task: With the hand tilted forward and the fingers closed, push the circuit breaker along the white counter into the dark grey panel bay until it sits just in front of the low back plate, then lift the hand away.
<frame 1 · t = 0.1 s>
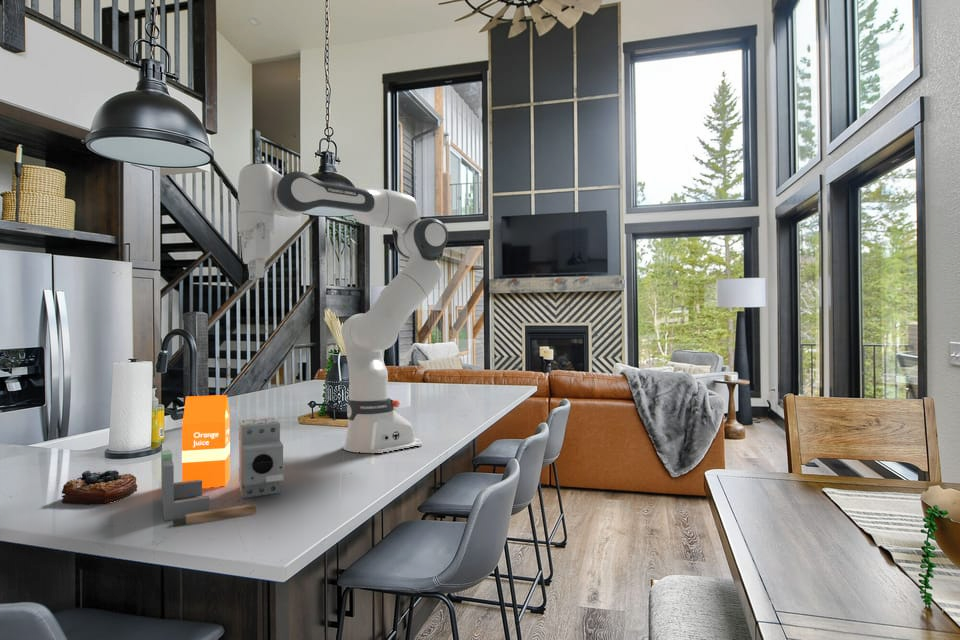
hand: (256, 278, 149), 48 cm above the table, tool pointing down, fingers open, 8 cm apart
stylus: (221, 518, 107), on the table
bay: (187, 505, 114), on the table
circuit breaker: (260, 495, 121), on the table
orange juice: (206, 484, 129), on the table
pastry: (101, 498, 120), on the table
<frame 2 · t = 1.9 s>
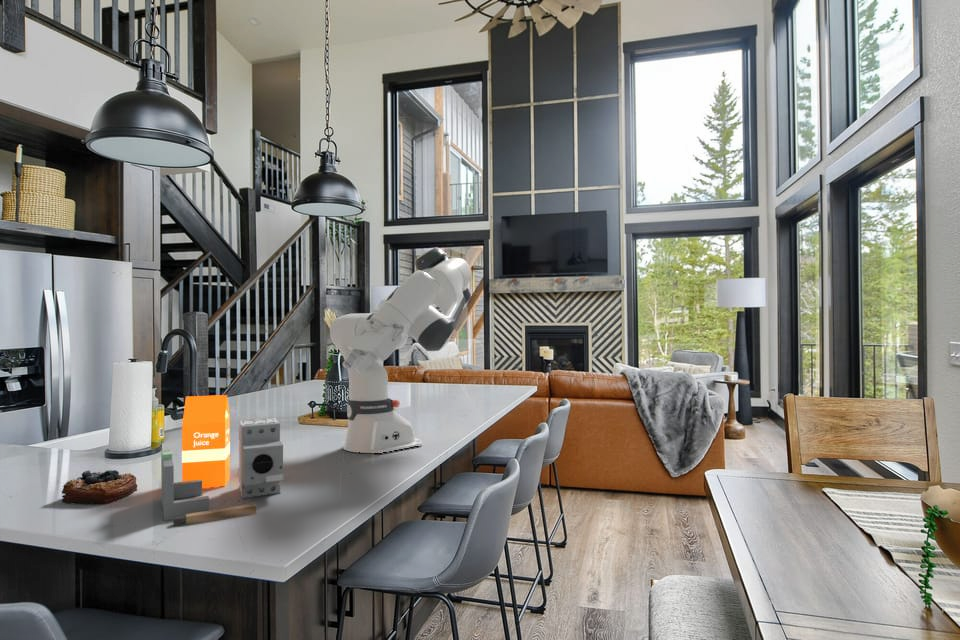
hand: (351, 368, 132), 26 cm above the table, tool tilted 45°, fingers open, 8 cm apart
nothing on the table moved.
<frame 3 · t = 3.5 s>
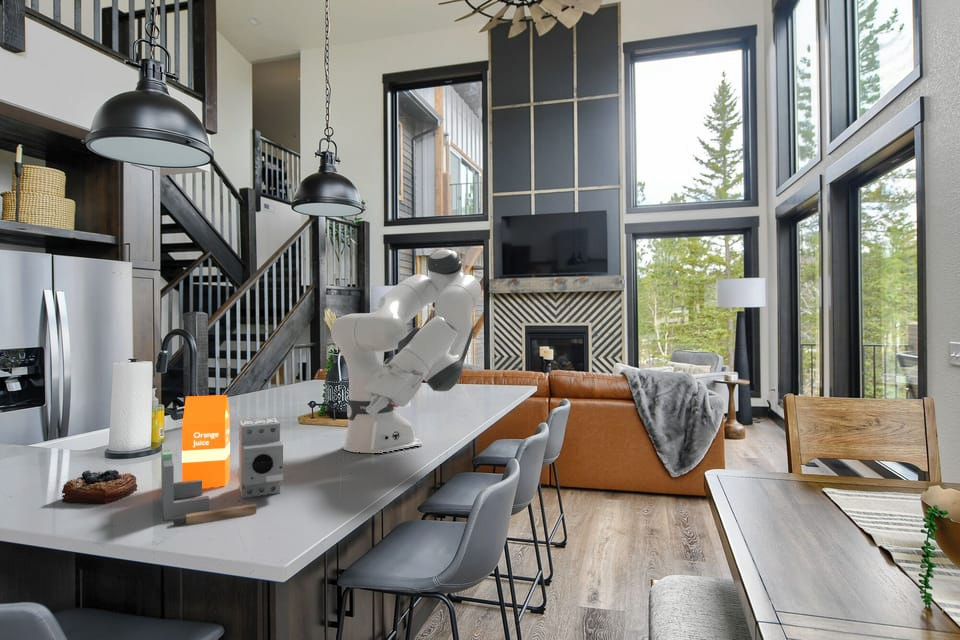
hand: (369, 413, 134), 15 cm above the table, tool tilted 45°, fingers closed
nothing on the table moved.
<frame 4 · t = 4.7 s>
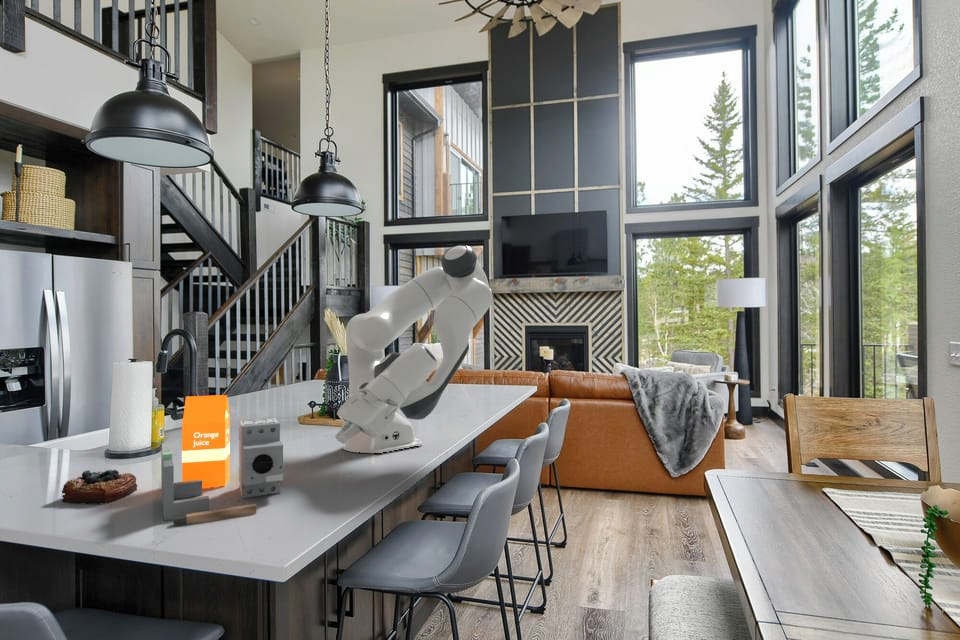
hand: (338, 440, 129), 10 cm above the table, tool tilted 50°, fingers closed
nothing on the table moved.
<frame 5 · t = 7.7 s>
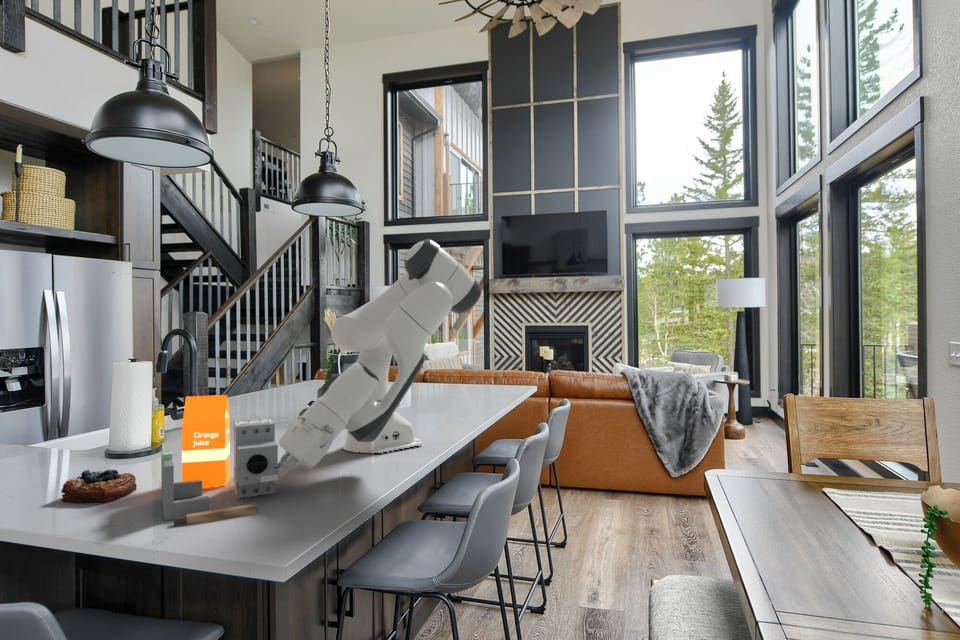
hand: (277, 473, 122), 4 cm above the table, tool tilted 45°, fingers closed
circuit breaker: (255, 495, 121), on the table, touching gripper
everything else where it was.
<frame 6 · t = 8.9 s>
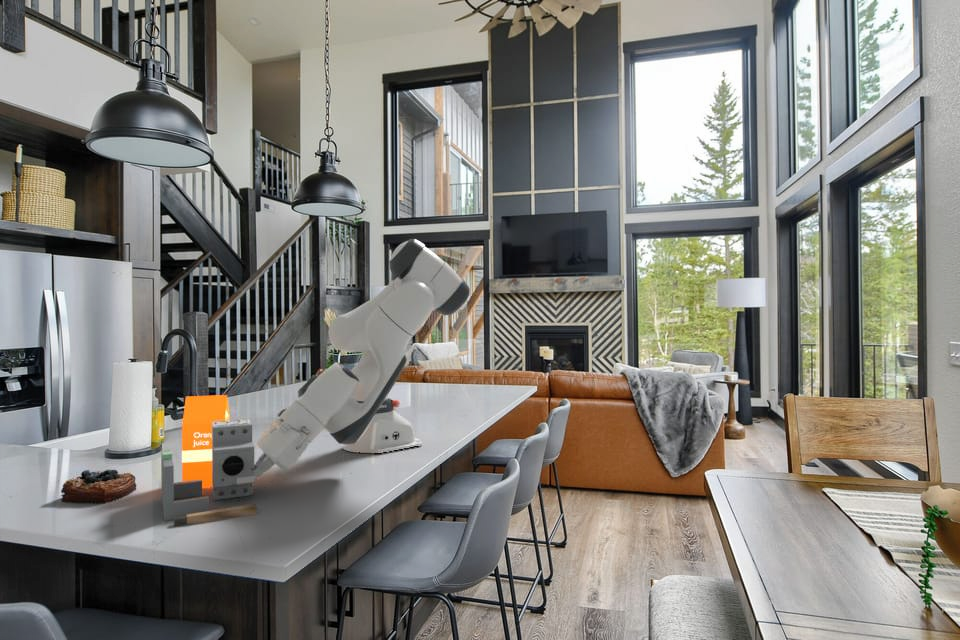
hand: (253, 475, 120), 4 cm above the table, tool tilted 45°, fingers closed
circuit breaker: (232, 497, 120), on the table, touching gripper
everything else where it was.
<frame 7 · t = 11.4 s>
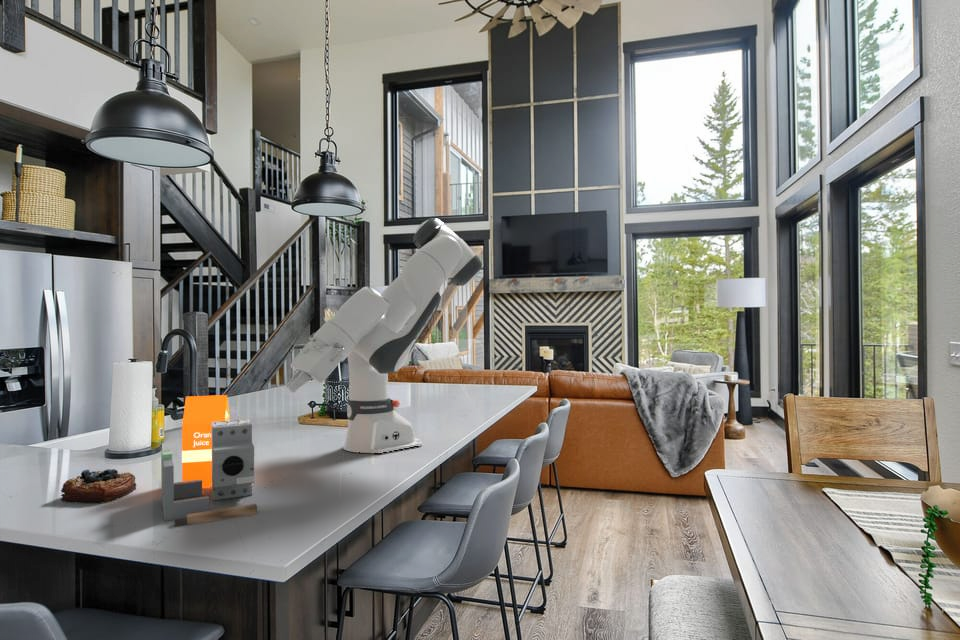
hand: (289, 390, 124), 22 cm above the table, tool tilted 45°, fingers closed
circuit breaker: (232, 497, 120), on the table
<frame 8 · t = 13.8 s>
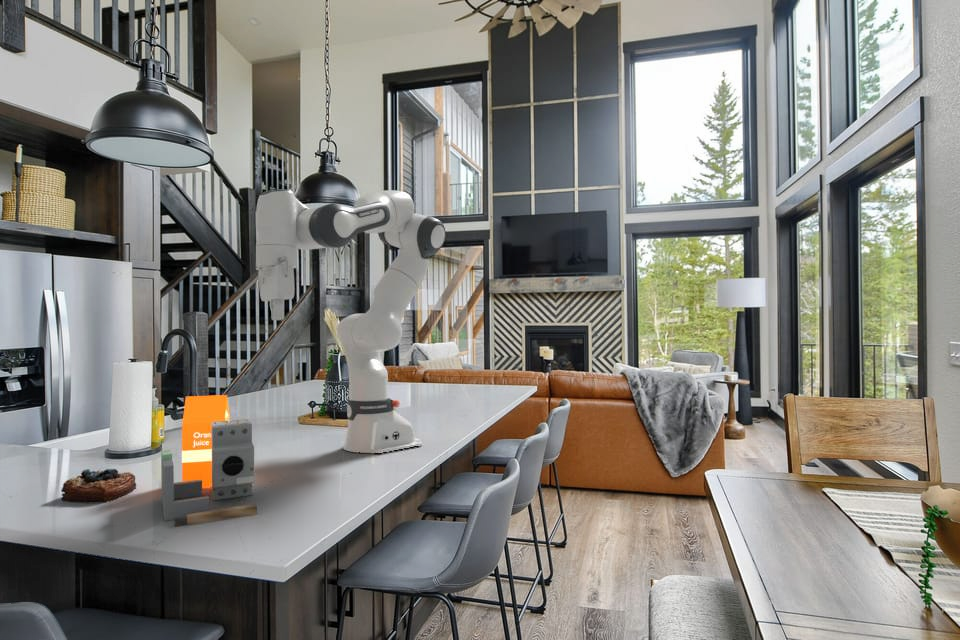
hand: (276, 320, 131), 37 cm above the table, tool pointing down, fingers closed
at the end: circuit breaker inside the target area (3.5 cm from its centre), on the table; circuit breaker tilted 0°; circuit breaker moved 5.6 cm from its start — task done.
